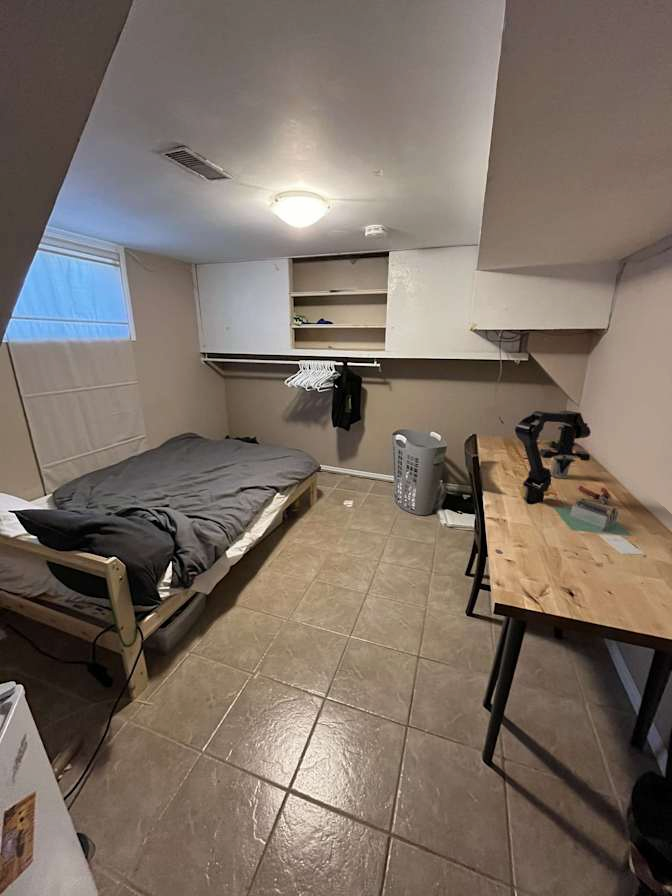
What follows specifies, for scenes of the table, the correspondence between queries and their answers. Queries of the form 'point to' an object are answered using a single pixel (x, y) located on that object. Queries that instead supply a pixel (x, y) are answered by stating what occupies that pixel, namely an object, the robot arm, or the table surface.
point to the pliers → (597, 495)
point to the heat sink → (593, 516)
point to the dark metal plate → (595, 506)
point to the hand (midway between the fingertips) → (560, 472)
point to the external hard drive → (621, 545)
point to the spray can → (556, 472)
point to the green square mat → (578, 526)
